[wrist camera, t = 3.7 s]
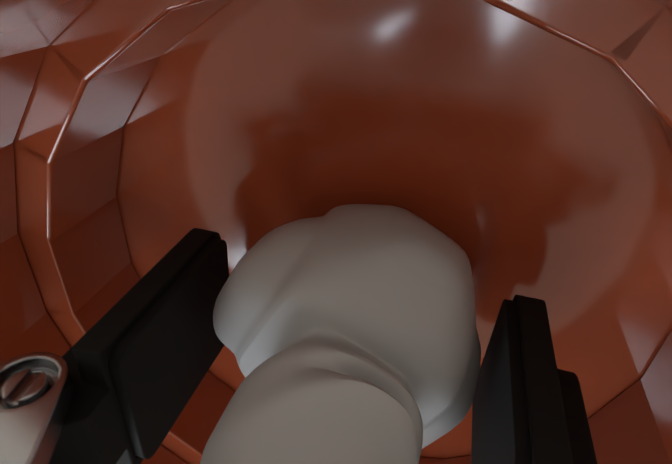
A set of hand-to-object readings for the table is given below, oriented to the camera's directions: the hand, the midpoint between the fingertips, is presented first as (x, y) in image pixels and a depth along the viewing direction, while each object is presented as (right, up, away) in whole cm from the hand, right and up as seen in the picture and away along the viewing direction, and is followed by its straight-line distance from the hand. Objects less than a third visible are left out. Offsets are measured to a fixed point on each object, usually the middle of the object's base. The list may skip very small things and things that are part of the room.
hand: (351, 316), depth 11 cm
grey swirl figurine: (0, +1, +1) cm, 1 cm away
